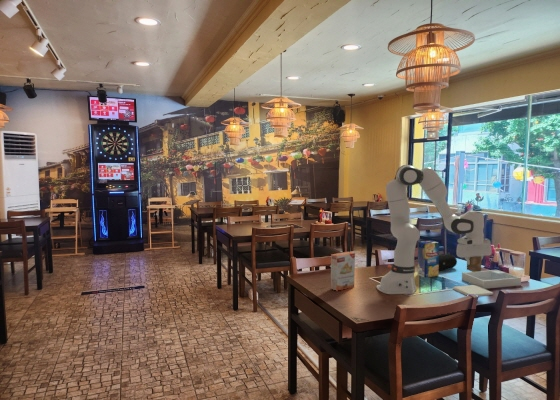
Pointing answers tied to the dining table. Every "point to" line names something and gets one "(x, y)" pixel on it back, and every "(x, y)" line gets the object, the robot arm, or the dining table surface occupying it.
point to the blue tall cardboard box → (428, 258)
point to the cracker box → (342, 270)
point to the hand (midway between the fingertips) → (473, 264)
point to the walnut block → (474, 264)
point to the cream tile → (472, 290)
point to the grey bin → (485, 281)
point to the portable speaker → (447, 261)
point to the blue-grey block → (497, 275)
